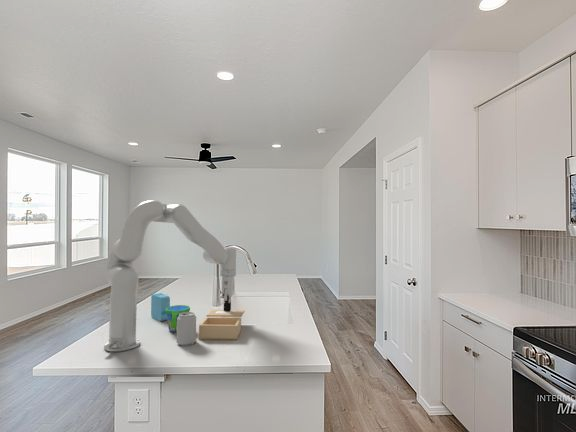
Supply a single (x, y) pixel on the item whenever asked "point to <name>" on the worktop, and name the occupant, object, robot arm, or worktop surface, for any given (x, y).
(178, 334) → the can
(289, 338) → the worktop surface
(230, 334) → the box
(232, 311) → the lid
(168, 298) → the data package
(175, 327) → the snack cup
